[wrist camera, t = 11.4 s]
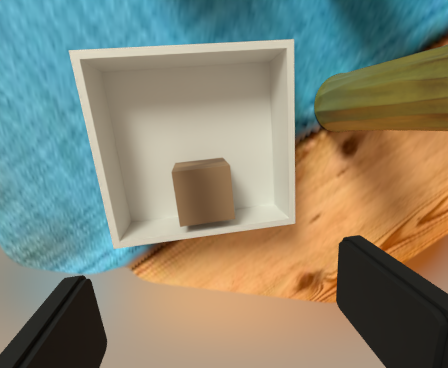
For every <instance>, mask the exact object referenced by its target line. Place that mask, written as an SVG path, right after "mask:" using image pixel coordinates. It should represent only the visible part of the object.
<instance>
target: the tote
mask: <svg viewBox="0 0 448 368" xmlns="http://www.w3.org/2000/svg"><path fill="white" fill-rule="evenodd" d="M69 53H70V58H71V62H72V66H73V71H74V75H75V80H76V84H77V88H78V93H79V97H80V102H81V106H82V110H83V115H84V119H85V124H86V128H87V132H88V137H89V141H90V146H91V150H92V154H93V159H94V163H95V168H96V172H97V177H98V181H99V185H100V190H101V194H102V199H103V203H104V207H105V212H106V216H107V221H108V225H109V229H110V234H111V238H112V243H113V247H114V249H116V248H123V247H131V246H138V245H145V244H152V243H159V242H166V241H174V240H181V239H188V238H195V237H202V236H210V235H217V234H224V233H231V232H238V231H246V230H253V229H260V228H267V227H274V226H282V225H289V224H295V112H294V39H290V40H270V41H250V42H230V43H209V44H189V45H169V46H149V47H129V48H109V49H89V50H69ZM222 157H223V158H224V159H225V160H226V161H227V163H228V164H229V165H230V170H231V181H232V192H233V202H234V213H235V219H231V220H224V221H217V222H210V223H203V224H197V225H190V226H183V227H180V223H179V217H178V211H177V205H176V198H175V192H174V186H173V179H172V173H171V172H172V170H173V167H174V165H175V163H180V162H188V161H197V160H205V159H214V158H222Z"/></svg>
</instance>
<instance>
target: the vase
mask: <svg viewBox="0 0 448 368" xmlns="http://www.w3.org/2000/svg"><path fill="white" fill-rule="evenodd" d="M314 110H315V114H316V117H317V119H318V121H319V123H320V124H321V125H322V126H323V127H324V128H325V129H327V130H329V131H332V132H344V131H362V130H421V131H448V45H445V46H442V47H439V48H435V49H431V50H427V51H424V52H420V53H417V54H413V55H409V56H406V57H402V58H399V59H395V60H391V61H387V62H384V63H380V64H377V65H373V66H369V67H365V68H362V69H358V70H355V71H351V72H348V73H339V74H336V75H334V76H332V77H330V78H328V79H327V80H326V81H325V82H324V83H323V84H322V85H321V87H320V88H319V90H318V92H317V94H316V97H315V103H314Z"/></svg>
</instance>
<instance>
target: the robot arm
mask: <svg viewBox="0 0 448 368" xmlns="http://www.w3.org/2000/svg"><path fill="white" fill-rule="evenodd" d="M336 301H337V304H338V307H339V308H340V310H341V311H342V313H343V314H344V315H345V316H346V318H347V319H348V320H349V321H350V323H351V324H352V325H353V326H354V328H355V329H356V330H357V331H358V333H359V334H360V335H361V337H363V339H364V340H365V342H366V343H367V344H368V345H369V347H370V348H371V349H372V350H373V352H374V353H375V354H376V355H377V357H378V358H379V359H380V361H381V362H382V363H383V364H384V365H385V367H386V368H448V294H447V293H446V292H444V291H443V290H441V289H440V288H438V287H437V286H435V285H434V284H432V283H431V282H429V281H428V280H426V279H425V278H423V277H422V276H420V275H419V274H417V273H416V272H414V271H413V270H411V269H410V268H408V267H407V266H405V265H404V264H402V263H401V262H399V261H398V260H396V259H395V258H393V257H392V256H390V255H389V254H387V253H386V252H384V251H383V250H381V249H380V248H378V247H377V246H375V245H374V244H372V243H371V242H369V241H368V240H366V239H365V238H363V237H362V236H360V235H357V236H350V237H345V238H343V240H342V242H340V243H339V253H338V274H337V294H336ZM106 347H107V338H106V334H105V330H104V327H103V323H102V320H101V316H100V312H99V308H98V304H97V300H96V297H95V293H94V289H93V286H92V282H91V280H90V279H86V277H85V276H83V275H82V276H75V277H68V278H64V279H63V280H62V281H61V282H60V283H59V285H58V286H57V287H56V288H55V290H54V291H53V292H52V293H51V294H50V295H49V297H48V298H47V299H46V300H45V301H44V303H43V304H42V305H41V306H40V307H39V309H38V310H37V311H36V312H35V313H34V315H33V316H32V317H31V318H30V319H29V321H28V322H27V323H26V324H25V325H24V327H23V328H22V329H21V330H20V331H19V333H18V334H17V335H16V336H15V337H14V338H13V340H12V341H11V342H10V343H9V344H8V346H7V347H6V348H5V349H4V351H3V352H2V353H1V354H0V368H99V367H100V364H101V362H102V359H103V357H104V354H105V351H106Z"/></svg>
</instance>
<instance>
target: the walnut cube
mask: <svg viewBox="0 0 448 368" xmlns="http://www.w3.org/2000/svg"><path fill="white" fill-rule="evenodd" d="M171 173H172V179H173V186H174V192H175V198H176V205H177V211H178V217H179V223H180V227H183V226H190V225H197V224H203V223H210V222H217V221H224V220H231V219H235V213H234V202H233V192H232V181H231V170H230V165H229V164H228V163H227V161H226V160H225V159H224V158H223V157H222V158H214V159H205V160H197V161H188V162H180V163H175V165H174V167H173V170H172V172H171Z"/></svg>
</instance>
